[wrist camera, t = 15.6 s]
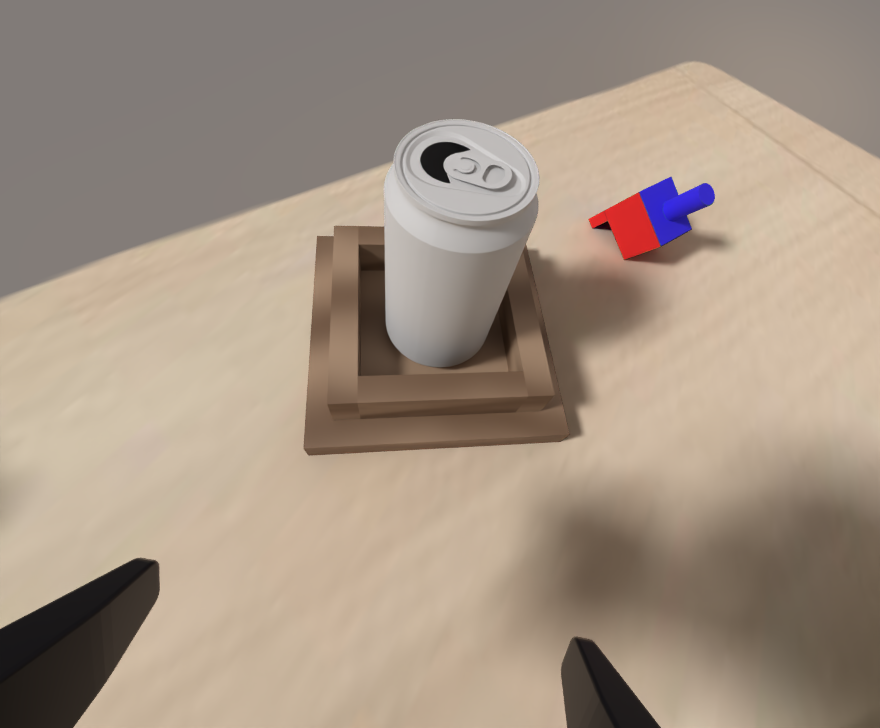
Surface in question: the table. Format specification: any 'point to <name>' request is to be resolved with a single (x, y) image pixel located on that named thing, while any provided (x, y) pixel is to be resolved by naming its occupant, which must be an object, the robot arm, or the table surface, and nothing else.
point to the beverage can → (453, 235)
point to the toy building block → (653, 216)
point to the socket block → (420, 366)
